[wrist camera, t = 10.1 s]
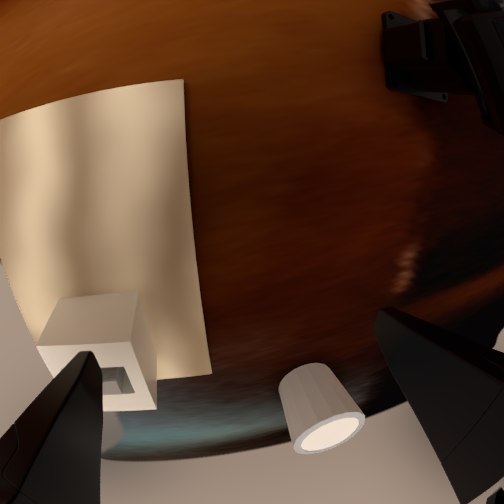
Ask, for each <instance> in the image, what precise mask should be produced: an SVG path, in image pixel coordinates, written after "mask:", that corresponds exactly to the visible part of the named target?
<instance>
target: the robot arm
mask: <svg viewBox="0 0 504 504" xmlns="http://www.w3.org/2000/svg"><path fill="white" fill-rule="evenodd" d="M429 5H430V6H431V8H432V10H433V11H435V12H436V14H437V16H438V17H436V18H431V19H426V20H419V21H415V20H413V19H410V18H407V17H405V16H402V15H399V14H397V13H394V12H391V11H387V12H384V13H383V27H384V43H385V60H386V84H387V87H388V88H389V89H390V90H393V91H398V92H402V93H407V94H411V95H415V96H419V97H423V98H427V99H431V100H435V101H438V102H443V103H446V102H447V100H448V93H454V94H467V95H475V97H476V100H477V103H478V105H479V108H480V111H481V114H482V116H481V118H482V121H483V124H484V125H486V126H488V127H490V128H491V129H493V130H495V131H497V132H498V133H500V134H502V135H504V0H437V1H435V2H432V3H430V4H429ZM388 16H389V17H390V18H391V19H390V18H389V17H388ZM392 82H394V86H393V84H392ZM442 95H443V97H442ZM373 332H374V336H375V338H376V340H377V342H378V344H379V346H380V349H381V351H382V353H383V355H384V357H385V360H386V362H387V364H388V366H389V368H390V370H391V372H392V374H393V376H394V377H395V379H396V381H397V383H398V384H399V386H400V388H401V390H402V391H403V393H404V395H405V397H406V398H407V400H408V402H409V404H410V406H411V407H412V409H413V411H414V413H415V415H416V416H417V418H418V420H419V422H420V424H421V426H422V428H423V430H424V431H425V433H426V435H427V437H428V439H429V441H430V443H431V445H432V447H433V449H434V450H435V452H436V454H437V456H438V458H439V460H440V462H441V465H442V466H443V468H444V471H445V473H446V475H447V477H448V479H449V481H450V482H451V485H452V487H453V489H454V491H455V493H456V496H457V498H458V500H459V502H460V504H468V503H469V502H471V501H472V500H474V499H475V498H477V497H478V496H479V495H481V494H482V493H483V492H485V491H486V490H488V489H489V488H490V487H491V486H493V485H494V484H496V483H497V482H498V483H499V484H500V487H499V488H498V489H497V490H496V491H495V492H494V493H493V494H492V495H491V496H489V497H488V498H487V502H486V504H504V353H503V352H500V351H497V350H494V349H492V348H489V347H487V346H484V345H482V344H479V343H477V342H476V343H475V342H474V341H472V340H470V339H467V338H465V337H462V336H460V335H458V334H455V333H453V332H450V331H448V330H446V329H443V328H441V327H438V326H436V325H434V324H431V323H429V322H426V321H424V320H422V319H419V318H417V317H414V316H412V315H410V314H407V313H405V312H402V311H400V310H397V309H395V308H393V307H384V308H381V309H379V310H378V312H377V316H376V320H375V323H374V327H373ZM102 428H103V375H102V370H101V368H100V366H99V364H98V361H97V359H96V357H95V355H94V353H93V352H92V351H80V352H78V353H77V354H76V355H75V356H74V357H73V359H72V360H71V361H70V362H69V363H68V364H67V365H66V366H65V367H64V368H63V369H62V370H61V371H60V372H59V373H58V374H57V375H56V377H55V378H54V379H53V380H52V381H51V382H50V383H49V384H48V385H47V386H46V387H45V388H44V390H43V391H42V392H41V393H40V394H39V395H38V396H37V397H36V398H35V400H34V401H33V402H32V403H31V404H30V405H29V406H28V407H27V408H26V410H25V411H24V412H23V413H22V414H21V415H20V416H19V418H18V419H17V420H16V421H15V422H14V424H12V426H11V427H10V428H9V429H8V430H7V431H6V433H5V434H4V435H3V436H2V437H1V438H0V504H100V464H101V443H102Z"/></svg>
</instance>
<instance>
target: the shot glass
mask: <svg viewBox="0 0 504 504" xmlns="http://www.w3.org/2000/svg"><path fill="white" fill-rule="evenodd" d="M279 394H280V398H281V401H282V405H283V409H284V413H285V417H286V421H287V425H288V429H289V433H290V437H291V440H292V444H293V448H294V449H295V451H296V452H298V453H302V454H315V453H319V452H323V451H327V450H329V449H332V448H334V447H336V446H338V445H341V444H342V443H344V442H345V441H347V440H348V439H350V438H352V437H353V436H354V435H355V434H356V433H357V432H358V431H359V430H360V429H361V427H362V426H363V424H364V422H365V415H364V414H363V412H362V411H361V410H360V408H359V407H358V406H357V404H356V403H355V402H354V400H353V399H352V398H351V396H350V395H349V394H348V392H347V391H346V390H345V388H344V387H343V386H342V384H341V383H340V382H339V380H338V379H337V378H336V376H335V375H334V374H333V372H332V371H331V370H330V368H329V367H327V366H326V365H325V364H321V363H311V364H305V365H303V366H300V367H298V368H296V369H294V370H292V371H291V372H290V373H288V374H287V375H286V376H285V377H284V378H283V380H282V381H281V382H280V385H279Z"/></svg>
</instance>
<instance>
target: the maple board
mask: <svg viewBox="0 0 504 504" xmlns="http://www.w3.org/2000/svg"><path fill="white" fill-rule="evenodd" d="M0 258H1V261H2V264H3V267H4V270H5V273H6V276H7V278H8V281H9V284H10V286H11V289H12V292H13V294H14V297H15V299H16V302H17V304H18V306H19V308H20V311H21V313H22V316H23V318H24V320H25V322H26V325H27V327H28V329H29V331H30V333H31V335H32V337H33V339H34V341H35V343H36V344H37V342H38V340H39V338H40V336H41V334H42V332H43V330H44V327H45V325H46V323H47V321H48V319H49V317H50V315H51V313H52V312H53V310H54V308H55V306H56V304H57V302H58V300H59V298H70V297H81V296H91V295H101V294H111V293H121V292H130V291H139V293H140V297H141V301H142V305H143V309H144V313H145V316H146V320H147V324H148V327H149V331H150V335H151V338H152V341H153V345H154V348H155V351H156V355H157V380H158V379H170V378H180V377H189V376H198V375H206V374H212V371H211V364H210V358H209V352H208V345H207V339H206V332H205V325H204V318H203V311H202V303H201V296H200V288H199V280H198V271H197V263H196V254H195V244H194V235H193V225H192V214H191V203H190V191H189V178H188V164H187V148H186V131H185V109H184V79H179V80H168V81H159V82H151V83H144V84H137V85H130V86H124V87H118V88H113V89H107V90H102V91H97V92H93V93H88V94H84V95H79V96H75V97H71V98H67V99H63V100H60V101H56V102H52V103H49V104H45V105H42V106H39V107H36V108H32V109H29V110H26V111H23V112H20V113H17V114H15V115H12V116H9V117H6V118H4V119H1V120H0Z"/></svg>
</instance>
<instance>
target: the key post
mask: <svg viewBox="0 0 504 504" xmlns="http://www.w3.org/2000/svg"><path fill="white" fill-rule="evenodd" d="M101 370H102V375H103V395H120V394H122V393H123V383H124V375H125V368H124V367H106V368H101Z"/></svg>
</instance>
